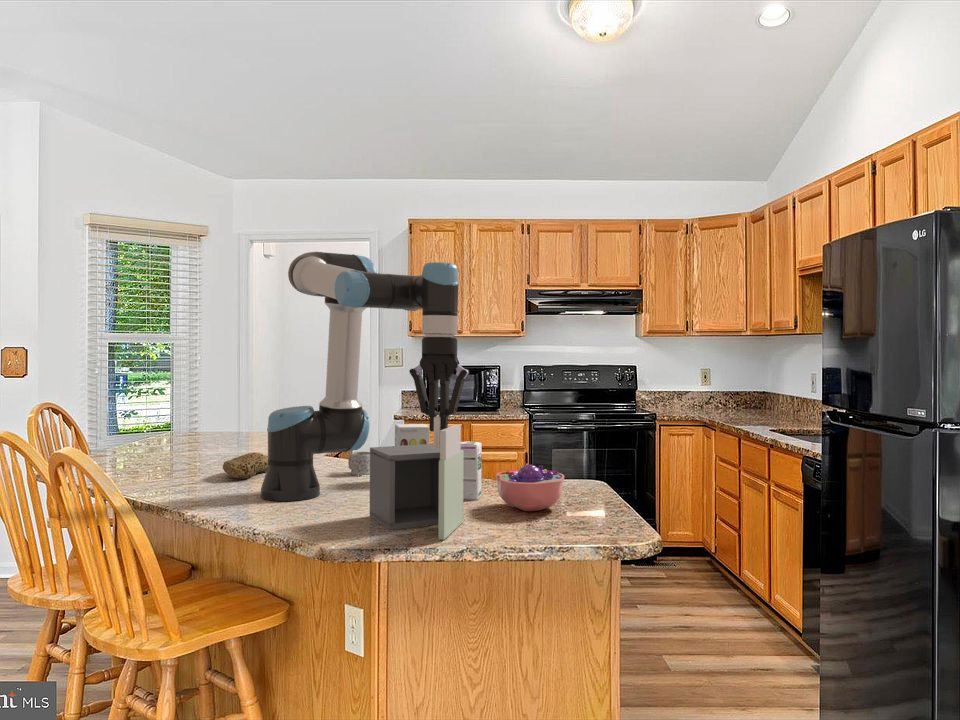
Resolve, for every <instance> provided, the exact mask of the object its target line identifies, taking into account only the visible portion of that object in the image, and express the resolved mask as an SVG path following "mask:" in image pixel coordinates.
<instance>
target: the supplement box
mask: <svg viewBox="0 0 960 720" xmlns="http://www.w3.org/2000/svg"><path fill="white" fill-rule="evenodd" d="M430 432H431V431H430V425H427V424H425V423H396V424H395V425H394V446H405V445H422V444H430Z"/></svg>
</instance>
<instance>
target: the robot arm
mask: <svg viewBox="0 0 960 720" xmlns="http://www.w3.org/2000/svg"><path fill="white" fill-rule="evenodd" d="M458 272H459V269H458V266H457V265H456V264H454V263H452V262H445V261H444V262H439V261H437V262H435V261H434V262H427V263H425V264H424V265H423V267H422V273H421V275H407V274H393V273H380V272H378V271H377V269H376V266H375V264H374V262H373V261H372V260H371V259H370V258H369V257H367V256H363V255H358V254H351V253H350V254H349V253H348V254H347V253H336V252H324V251H323V252H322V251H309V252H305V253H302V254H300V255H297V257H296V258H294V259H293V260H292V261H291V263H290V264H289V267H288V270H287V276H288V277H287V278H288V281H289V283H290V285H291V286H292V287H293V289H295V291H297V292H299V293H301V294H304V295H307V296H312V297H313V296H314V297H319V298H320V297H323V298H324V305H325V306H326V307H328V309H329V323H328V324H329V325H328V342H327V357H326V358H327V362H326V363H327V364H326V380H325V396H324V398H322V399H321V400H320V401H319V408H318V410H315V409H314V407H313V406H311V405H302V406H301V405H300V406H290V407H284V408H281V409H276V410H274V411H272V412H270V414H269V416H268V417H267V418H268V422H267V429H266V431H267V456H268V469H267V471H265V474H264V478H263V482H262V483H261V484H262V485H261V487H260V498H261V499H263V500H267V501H272V502H274V501H276V502H291V501H292V502H293V501H303V500H309V499H312V498H317V497H318V496H320V495H321V489H320V488H321V486H320V482H319V480H318V476H317V474H316V470H315V467H314V455H320V454H332V453H348V452H355V451H358V450H360V449H361V448H362V447H363V446H364V445H365V443H366V441H367V439H368V437H369V432H370V420H369V418H370V417H369V414H368V412H367V411H366V409H364V408H363V403H362V402H361V401H360V400H359V399H358V388H359V386H358V385H359V372H360V356H361V354H360V353H361V341H362V340H361V336H362V321H363V319H362V318H363V312H364V311H365V310H366V309H369V308H370V309H371V308H374V309H392V310H405V311H407V312H409V311H410V312H411V311H412V312H415V311H419V310H421V311H422V313H421V315H422V316H421V317H422V320H421V322H422V323H421V334H422V335H424V337H422V338H421V358H420V361H419V364H418V365H417V366H415V367H414V368H410V369H409V374H410V376H411V377H412V379H413V381H414V386H415V390H416V395H417V399H418V404H419V408H420V412H421V413H422V414H424V415H427V416H428V417H429V427H430V432H431V433H433V444H434V448H440V431H441V430H443V429H446V428H448V427H449V425H448V423H449V416H451V415H455V414H456V413H457V411H458V408H459V404H460V399H461V395H462V392H463V388H464V384H465V380H466V379H467V377H468V376H469V375H470V370H469V369H465V368H464V367H463V366H461V364H460V360H459V358H458V339H457V337H455V336H456V335H458V321H459V319H458V317H459V316H458V311H459V308H458V306H459V285H460V282H459V273H458ZM423 373H424V374H425V375H426V377H427V379H428V381H427V382H428V395H427V390H426V387H425V381H424V377H423ZM454 374H456V379H455V383H454V386H453V390H452V394H451V398H450V384H451V378H452V377H453V375H454ZM439 386H440V387H439ZM439 388H440V389H439Z"/></svg>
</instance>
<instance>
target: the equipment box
mask: <svg viewBox="0 0 960 720" xmlns="http://www.w3.org/2000/svg"><path fill="white" fill-rule="evenodd" d="M369 452H370V476H369V517H370V518H372V519H373V520H374V521H376V522H377V523H378V524H381V525H382V526H383V527H385V528H386V529H387V530H389V531H391V530H399V529H407V528H409V529H410V528H417V527H425V526H427V527H428V526H436V525H439V460H440V448H434V443H429V444H422V445H405V446H395V445H388V446H374V447H369Z"/></svg>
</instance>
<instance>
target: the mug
mask: <svg viewBox="0 0 960 720" xmlns="http://www.w3.org/2000/svg"><path fill="white" fill-rule="evenodd" d="M347 461H348V468H349V470H350V472H351V473H350V475H351V476H352V475H357V476H356V477H363V476H362V475H370V451H353V452H351V453H350V454H349V455H348V460H347ZM358 475H359V476H358Z"/></svg>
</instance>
